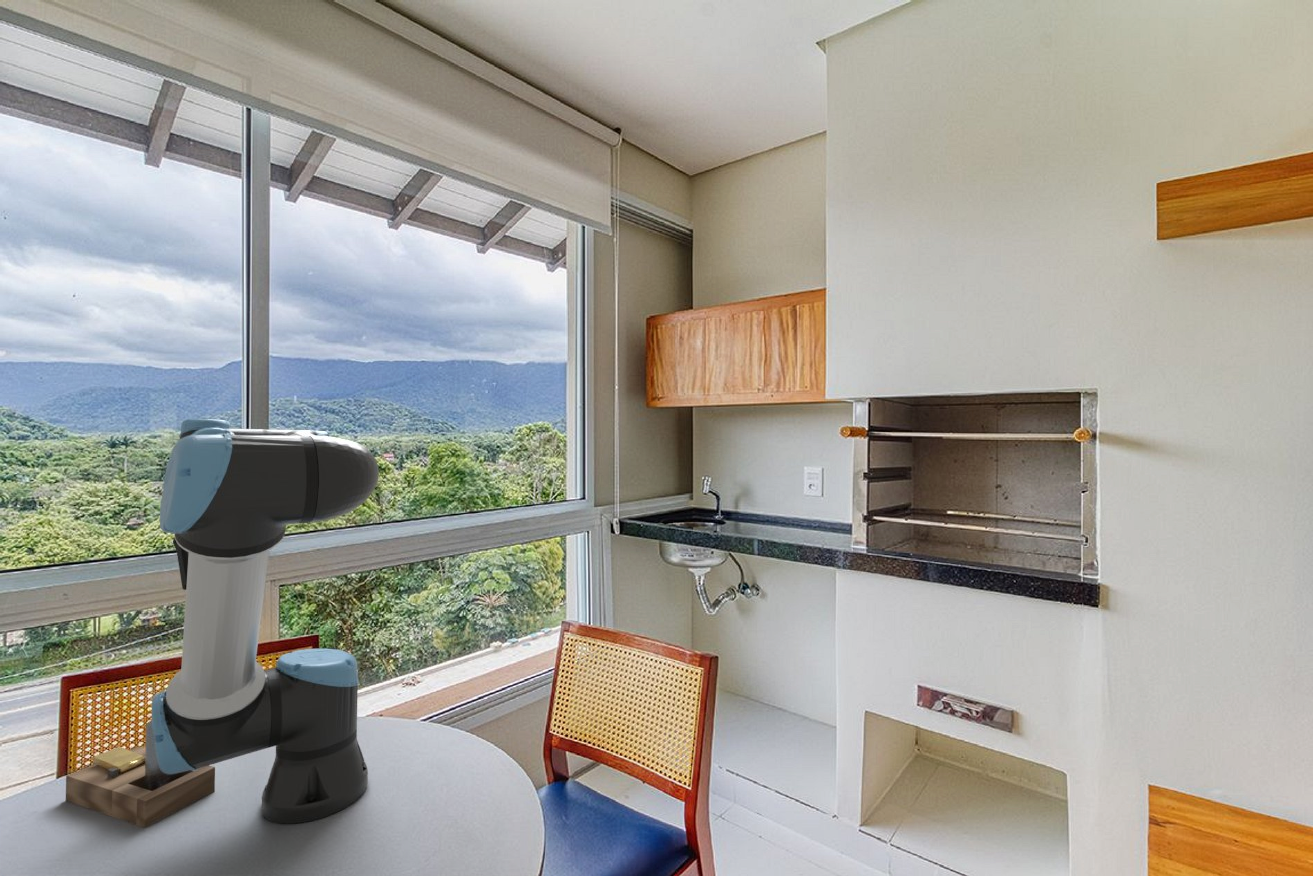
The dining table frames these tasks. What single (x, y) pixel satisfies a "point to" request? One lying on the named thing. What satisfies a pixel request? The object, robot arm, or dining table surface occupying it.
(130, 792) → the block
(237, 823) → the dining table surface
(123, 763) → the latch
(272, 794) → the robot arm
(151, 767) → the peg
